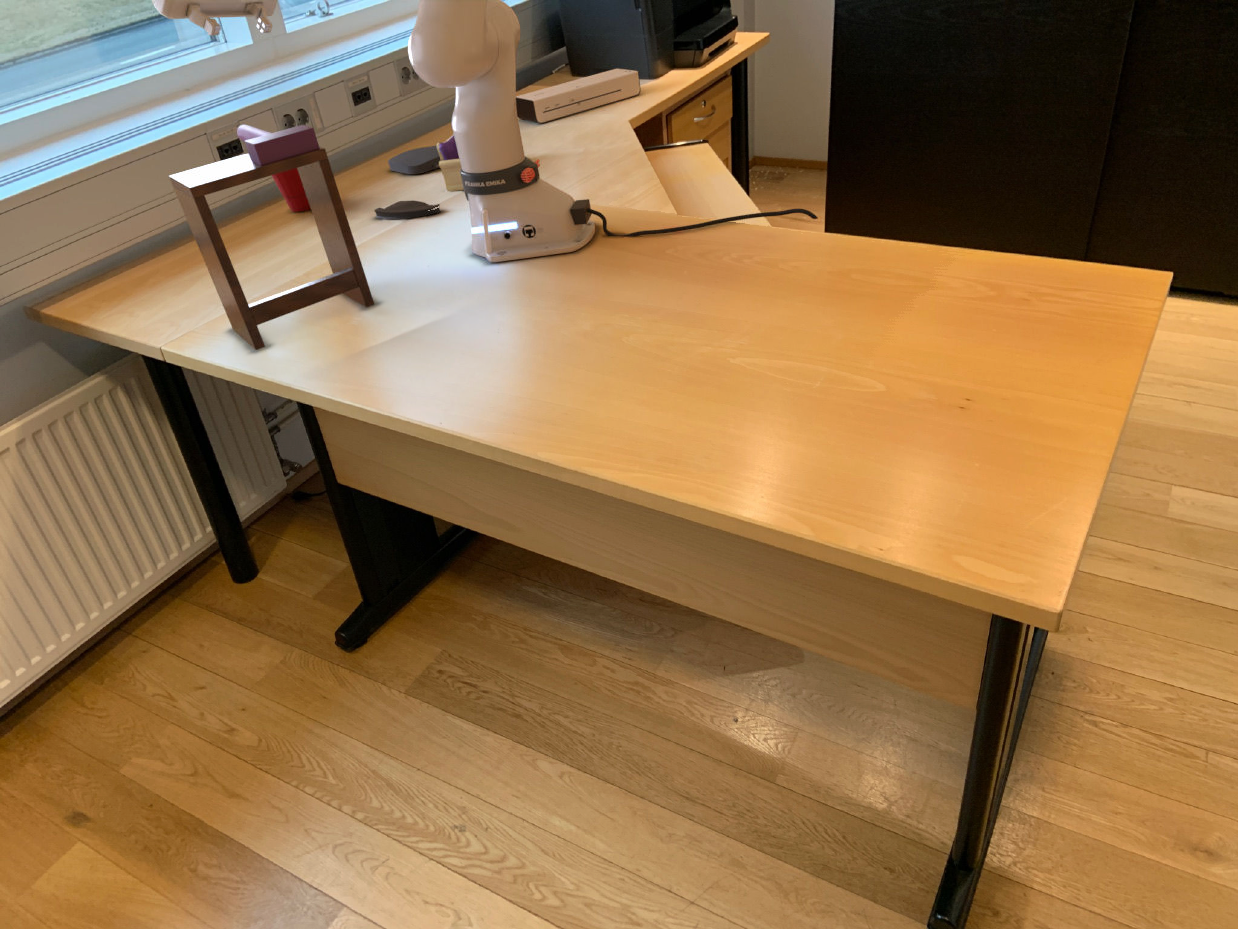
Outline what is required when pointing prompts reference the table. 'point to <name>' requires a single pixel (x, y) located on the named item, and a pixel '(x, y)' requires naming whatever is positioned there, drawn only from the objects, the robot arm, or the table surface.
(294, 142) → the toy hammer
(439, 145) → the toy sofa
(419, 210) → the black flat piece
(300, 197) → the plastic cup
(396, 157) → the media streaming box
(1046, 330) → the table surface
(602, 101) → the laminator
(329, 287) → the bench
